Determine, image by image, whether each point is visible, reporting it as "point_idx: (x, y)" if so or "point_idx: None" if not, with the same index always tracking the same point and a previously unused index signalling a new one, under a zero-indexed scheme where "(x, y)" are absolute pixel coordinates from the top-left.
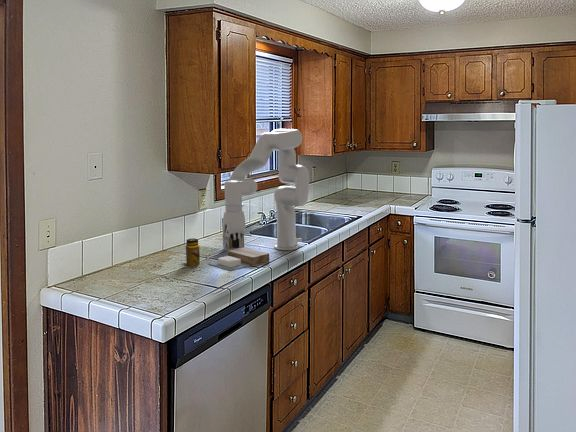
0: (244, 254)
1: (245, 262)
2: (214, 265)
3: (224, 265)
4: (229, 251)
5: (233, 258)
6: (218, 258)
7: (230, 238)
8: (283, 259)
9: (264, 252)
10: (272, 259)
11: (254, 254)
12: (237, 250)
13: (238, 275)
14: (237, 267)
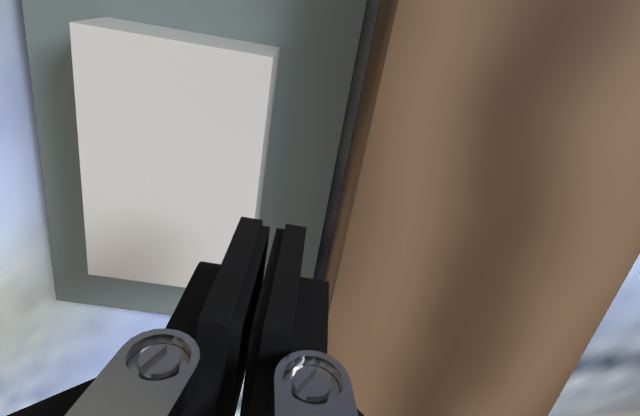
0: (364, 278)
1: (328, 263)
2: (27, 34)
3: None
4: None
5: (214, 213)
6: (71, 39)
7: (125, 347)
8: (626, 405)
9: (558, 387)
10: (595, 344)
11: (424, 360)
12: (524, 46)
13: (38, 397)
14: (157, 295)
